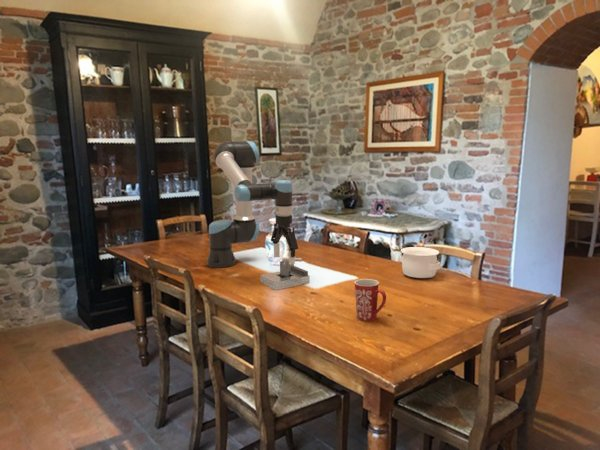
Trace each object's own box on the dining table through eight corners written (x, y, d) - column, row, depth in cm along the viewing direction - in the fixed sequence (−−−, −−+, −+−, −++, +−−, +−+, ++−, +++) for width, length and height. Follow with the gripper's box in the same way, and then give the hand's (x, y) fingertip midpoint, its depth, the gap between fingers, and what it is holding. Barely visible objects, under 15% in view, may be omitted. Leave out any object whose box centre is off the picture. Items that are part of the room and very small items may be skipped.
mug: (348, 317, 173) (349, 282, 171) (364, 311, 179) (364, 277, 177) (376, 326, 164) (376, 289, 162) (391, 319, 170) (392, 284, 168)
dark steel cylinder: (278, 282, 217) (277, 261, 215) (287, 280, 220) (286, 260, 218) (283, 285, 213) (283, 263, 211) (292, 283, 216) (292, 262, 214)
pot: (449, 277, 223) (450, 251, 221) (429, 284, 212) (430, 258, 209) (410, 268, 239) (411, 244, 237) (389, 274, 228) (390, 250, 226)
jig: (260, 282, 218) (260, 270, 217) (293, 276, 227) (293, 265, 226) (275, 290, 206) (275, 277, 205) (309, 283, 216) (309, 271, 215)
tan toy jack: (299, 272, 234) (299, 252, 232) (280, 271, 236) (280, 252, 234) (303, 267, 243) (303, 248, 242) (285, 266, 245) (284, 247, 244)
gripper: (263, 211, 219) (264, 255, 224) (291, 219, 199) (291, 268, 203) (277, 210, 223) (277, 253, 228) (305, 218, 203) (305, 265, 207)
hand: (284, 260), depth 215 cm, fingers open, 13 cm apart
